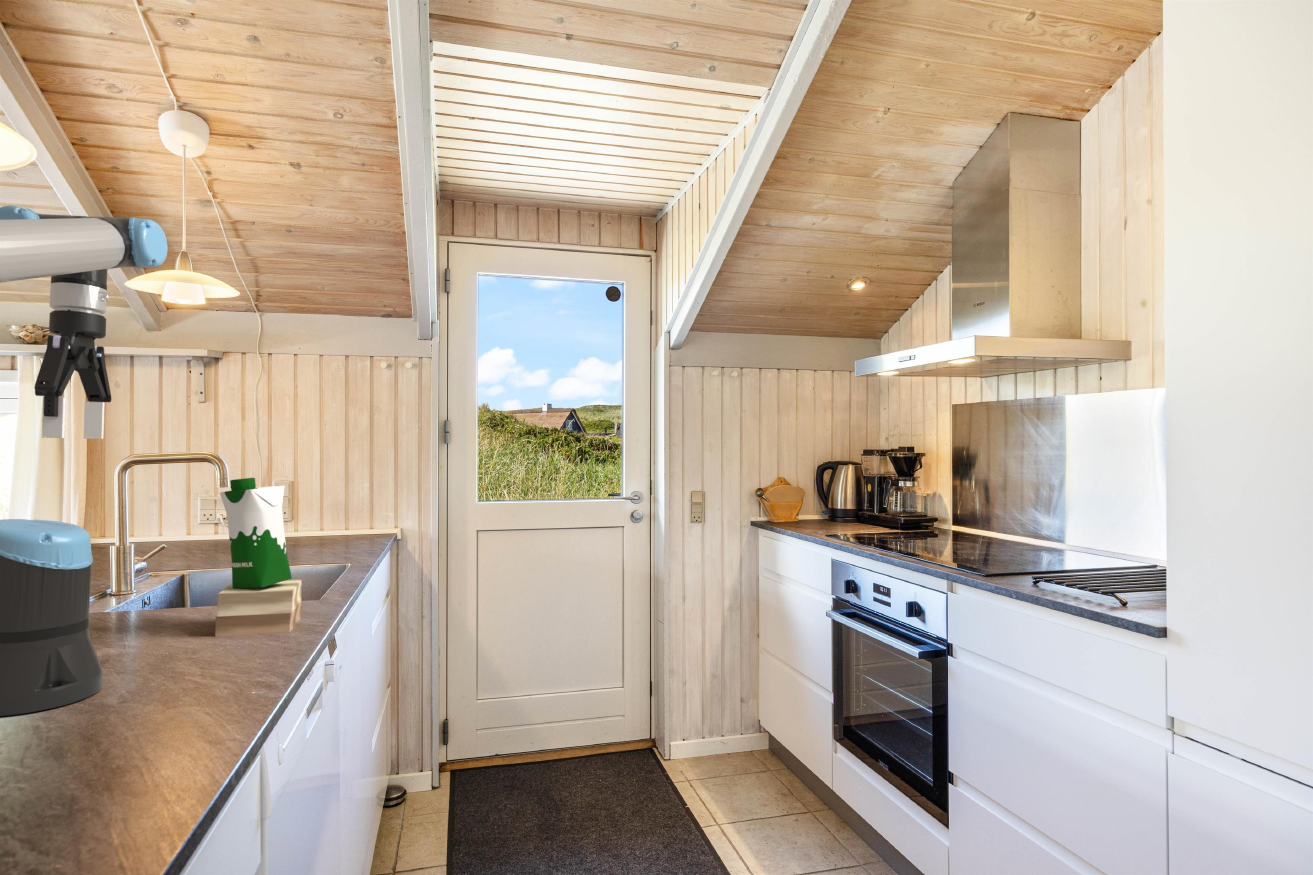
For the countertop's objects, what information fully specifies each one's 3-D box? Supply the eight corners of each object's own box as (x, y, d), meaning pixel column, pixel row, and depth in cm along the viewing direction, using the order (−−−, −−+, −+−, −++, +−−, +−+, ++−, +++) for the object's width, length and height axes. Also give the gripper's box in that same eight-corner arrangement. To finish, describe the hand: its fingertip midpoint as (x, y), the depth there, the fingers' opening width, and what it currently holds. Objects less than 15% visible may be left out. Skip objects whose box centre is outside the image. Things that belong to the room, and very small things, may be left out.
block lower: (289, 635, 133) (290, 613, 133) (215, 638, 129) (215, 616, 129) (301, 620, 144) (302, 599, 144) (233, 622, 141) (234, 602, 141)
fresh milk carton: (224, 589, 134) (213, 481, 133) (264, 578, 142) (254, 476, 142) (261, 588, 131) (250, 478, 131) (300, 577, 140) (289, 473, 139)
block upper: (291, 612, 133) (292, 590, 133) (217, 616, 129) (217, 593, 129) (301, 599, 144) (301, 579, 144) (232, 602, 141) (233, 581, 141)
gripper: (67, 300, 112) (62, 438, 112) (135, 326, 136) (131, 439, 136) (8, 296, 110) (3, 436, 110) (88, 323, 134) (84, 438, 134)
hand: (74, 438), depth 123 cm, fingers open, 13 cm apart
